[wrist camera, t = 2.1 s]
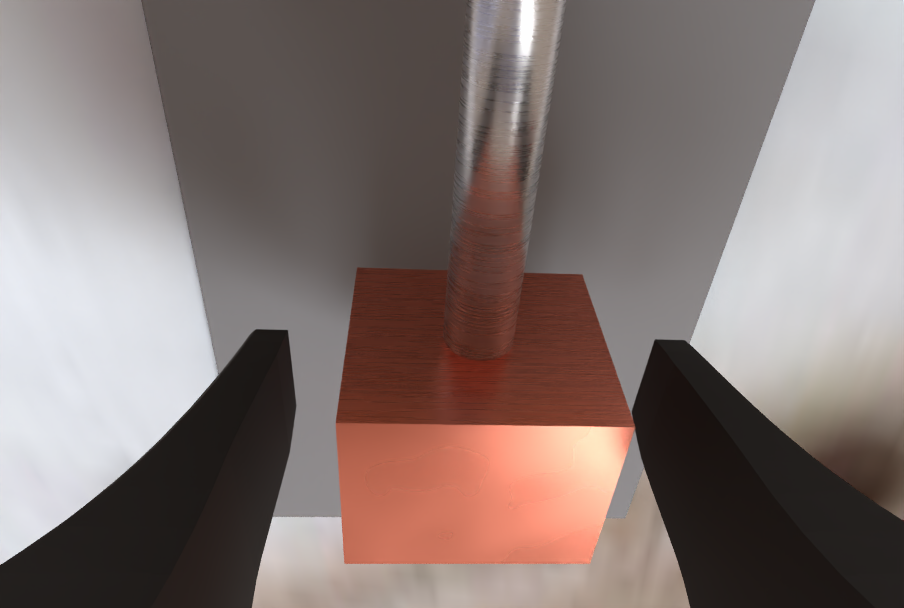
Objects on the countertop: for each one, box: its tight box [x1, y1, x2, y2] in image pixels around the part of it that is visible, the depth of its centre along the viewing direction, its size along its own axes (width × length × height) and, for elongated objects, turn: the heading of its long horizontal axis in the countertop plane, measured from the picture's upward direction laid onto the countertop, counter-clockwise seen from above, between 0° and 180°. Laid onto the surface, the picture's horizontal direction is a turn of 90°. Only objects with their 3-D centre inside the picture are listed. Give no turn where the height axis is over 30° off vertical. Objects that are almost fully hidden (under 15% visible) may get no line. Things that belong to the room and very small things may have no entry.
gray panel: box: [142, 0, 815, 518], centre depth 14 cm, size 22×12×1 cm, turn 176°
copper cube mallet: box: [336, 0, 635, 564], centre depth 8 cm, size 16×4×4 cm, turn 176°
